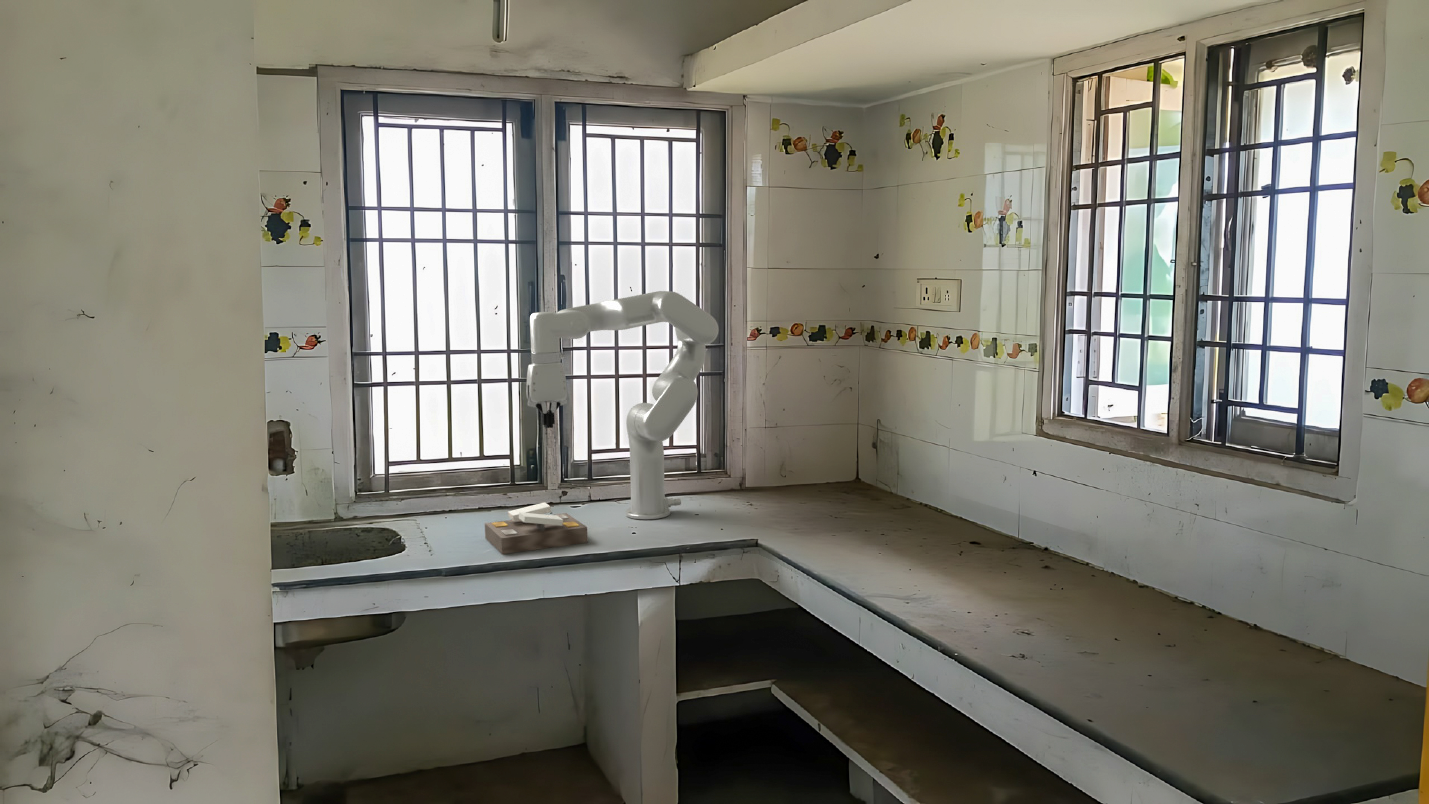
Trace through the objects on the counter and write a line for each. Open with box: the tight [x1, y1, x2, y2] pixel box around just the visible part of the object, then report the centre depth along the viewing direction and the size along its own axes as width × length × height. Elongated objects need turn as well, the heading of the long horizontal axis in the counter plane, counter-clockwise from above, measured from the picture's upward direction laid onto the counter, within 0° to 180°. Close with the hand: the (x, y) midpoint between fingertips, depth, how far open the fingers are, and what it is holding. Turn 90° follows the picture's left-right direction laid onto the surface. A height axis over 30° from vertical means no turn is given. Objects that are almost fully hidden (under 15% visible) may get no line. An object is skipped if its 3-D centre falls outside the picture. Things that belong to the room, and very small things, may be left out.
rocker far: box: [507, 501, 552, 521], centre depth 269 cm, size 10×5×2 cm, turn 116°
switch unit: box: [484, 512, 589, 555], centre depth 266 cm, size 22×17×6 cm
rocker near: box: [519, 512, 563, 526], centre depth 262 cm, size 10×5×2 cm, turn 116°
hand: (548, 427), depth 277 cm, fingers closed
